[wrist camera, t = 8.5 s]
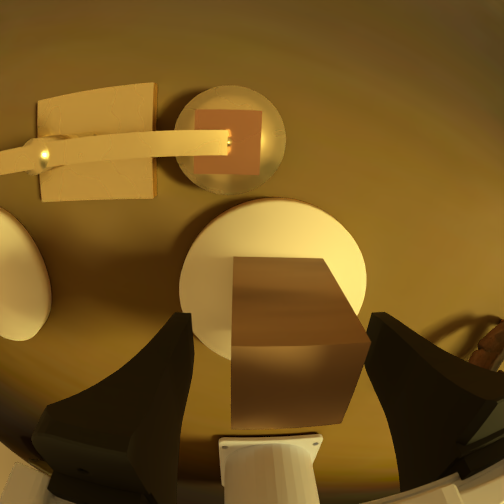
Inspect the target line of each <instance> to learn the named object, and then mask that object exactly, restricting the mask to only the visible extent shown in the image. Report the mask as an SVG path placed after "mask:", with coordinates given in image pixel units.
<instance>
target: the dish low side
mask: <svg viewBox="0 0 504 504" xmlns="http://www.w3.org/2000/svg"><path fill="white" fill-rule="evenodd" d="M233 256H236V257H282V258H323V259H324V261H325V262H326V264H327V266H328V267H329V269H330V271H331V272H332V274H333V276H334V277H335V279H336V281H337V283H338V284H339V286H340V288H341V289H342V291H343V293H344V295H345V296H346V298H347V300H348V301H349V303H350V305H351V307H352V308H353V310H354V312H355V314H356V315H358V313H359V311H360V308H361V306H362V303H363V300H364V296H365V290H366V270H365V264H364V260H363V257H362V254H361V252H360V250H359V247H358V245H357V244H356V242H355V241H354V239H353V238H352V236H351V235H350V234H349V233H348V231H347V230H346V229H345V228H344V227H343V226H342V225H341V224H340V223H339V222H338V221H337V220H336V219H335V218H333V217H332V216H331V215H330V214H328V213H327V212H325V211H324V210H322V209H320V208H319V207H317V206H314V205H312V204H309V203H307V202H304V201H300V200H296V199H290V198H282V197H273V198H262V199H255V200H251V201H248V202H244V203H241V204H239V205H236V206H234V207H232V208H230V209H228V210H226V211H225V212H223V213H221V214H220V215H218V216H217V217H216V218H214V219H213V220H212V221H211V222H210V223H208V224H207V225H206V226H205V228H204V229H203V230H202V231H201V232H200V233H199V234H198V236H197V237H196V239H195V240H194V242H193V243H192V245H191V247H190V249H189V251H188V254H187V256H186V259H185V262H184V265H183V268H182V271H181V276H180V282H179V297H180V304H181V308H182V311H183V313H191V316H192V330H193V333H194V334H195V335H196V336H197V337H198V338H199V340H200V341H201V342H202V343H203V344H205V345H206V346H207V347H208V348H209V349H211V350H212V351H214V352H215V353H217V354H219V355H220V356H222V357H224V358H226V359H229V360H231V326H232V286H233Z"/></svg>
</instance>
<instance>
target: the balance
mask: <svg viewBox="0 0 504 504" xmlns="http://www.w3.org/2000/svg"><path fill="white" fill-rule="evenodd" d="M157 95H158V84H156V83H154V82H153V83H141V84H131V85H123V86H115V87H108V88H101V89H94V90H88V91H83V92H77V93H72V94H67V95H62V96H57V97H53V98H48V99H44V100H40V101H38V117H37V132H38V138H34V139H30V140H28V141H27V142H26V143H25V144H24V146H23V147H18V148H13V149H9V150H4V151H0V175H3V174H9V173H14V172H20V171H25V172H26V173H28V174H29V175H37V174H39V176H40V187H41V197H42V202H53V201H74V200H101V199H153V198H154V197H156V196H157V163H156V157H166V156H175V157H176V160H177V162H178V164H179V166H180V168H181V170H182V171H183V173H184V174H185V175H186V176H187V177H188V178H189V179H190V180H191V181H192V182H193V183H194V184H196V185H197V186H199V187H200V188H202V189H204V190H207V191H209V192H212V193H216V194H223V195H235V194H241V193H245V192H248V191H251V190H253V189H255V188H257V187H259V186H260V185H262V184H263V183H265V182H266V181H267V180H268V179H269V178H270V177H271V176H272V175H273V174H274V172H275V171H276V170H277V168H278V167H279V165H280V163H281V161H282V158H283V155H284V152H285V146H286V133H285V127H284V124H283V121H282V118H281V116H280V114H279V112H278V111H277V109H276V108H275V107H274V105H273V104H272V103H271V102H270V101H269V100H268V99H267V98H266V97H264V96H263V95H261V94H260V93H258V92H256V91H254V90H252V89H249V88H246V87H241V86H234V85H226V86H219V87H214V88H211V89H208V90H206V91H204V92H202V93H200V94H199V95H197V96H196V97H194V98H193V99H192V100H191V101H190V102H189V103H188V104H187V105H186V106H185V107H184V109H183V110H182V112H181V113H180V115H179V117H178V119H177V122H176V124H175V128H174V130H169V131H157Z"/></svg>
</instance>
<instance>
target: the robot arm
mask: <svg viewBox="0 0 504 504" xmlns="http://www.w3.org/2000/svg"><path fill="white" fill-rule="evenodd" d="M366 333H367V335H368V337H369V339H370V341H371V344H370V347H369V350H368V353H367V356H366V359H365V362H364V365H365V368H366V371H367V374H368V376H369V378H370V381H371V383H372V385H373V387H374V390H375V392H376V394H377V396H378V399H379V401H380V403H381V405H382V408H383V410H384V413H385V415H386V418H387V421H388V425H389V428H390V432H391V436H392V440H393V444H394V449H395V453H396V459H397V465H398V471H399V480H400V491H401V493H399V494H396V495H392V496H389V497H385V498H381V499H377V500H373V501H369V502H365V503H361V504H504V374H502V373H498V372H494V371H491V370H488V369H485V368H482V367H479V366H476V365H474V364H471V363H469V362H466V361H464V360H462V359H460V358H458V357H456V356H454V355H452V354H450V353H448V352H446V351H444V350H442V349H441V348H439V347H437V346H436V345H434V344H432V343H431V342H429V341H428V340H426V339H425V338H423V337H422V336H420V335H419V334H417V333H416V332H414V331H413V330H411V329H410V328H408V327H407V326H406V325H404V324H403V323H401V322H400V321H398V320H397V319H395V318H394V317H392V316H391V315H389V314H387V313H385V312H376V313H372V314H371V318H370V321H369V325H368V328H367V332H366ZM193 364H194V343H193V330H192V316H191V313H179V312H176V313H174V314H173V315H172V317H171V318H170V319H169V320H168V321H167V323H166V324H165V325H164V326H163V327H162V329H161V330H160V331H159V332H158V333H157V334H156V335H155V336H154V338H153V339H152V340H151V341H150V342H149V343H148V344H147V345H146V346H145V347H144V348H143V349H142V350H141V351H140V352H139V353H138V354H137V355H136V356H135V357H133V358H132V359H131V360H130V361H129V362H128V363H126V364H125V365H124V366H123V367H121V368H120V369H119V370H117V371H116V372H115V373H113V374H112V375H110V376H108V377H107V378H105V379H104V380H102V381H101V382H99V383H97V384H96V385H94V386H92V387H90V388H88V389H86V390H84V391H82V392H80V393H78V394H76V395H74V396H71V397H69V398H66V399H64V400H61V401H58V402H56V403H53V404H50V405H47V407H46V408H45V410H44V412H43V414H42V415H41V417H40V420H39V422H38V424H37V426H36V428H35V430H34V432H33V435H32V437H31V440H32V443H33V446H34V447H35V449H36V450H37V452H38V453H39V454H40V455H41V457H42V458H43V459H44V460H45V461H46V462H47V464H48V465H49V466H50V467H51V468H52V469H53V473H52V476H51V478H50V477H49V476H47V475H46V474H44V473H42V472H40V471H38V470H35V469H33V468H30V467H28V466H25V465H23V464H21V463H19V462H15V464H14V466H13V468H12V471H11V473H10V475H9V478H8V481H7V483H6V485H5V488H4V491H3V493H2V496H1V499H0V504H177V475H178V458H179V444H180V433H181V426H182V420H183V415H184V411H185V406H186V402H187V397H188V393H189V388H190V384H191V379H192V374H193ZM322 440H323V437H322V435H321V434H311V435H299V436H283V437H248V438H240V437H223V438H220V439H219V457H220V469H221V481H222V485H223V486H225V504H320V503H319V497H318V492H317V487H316V482H315V477H314V471H313V466H312V464H313V462H314V459H315V457H316V455H317V452H318V450H319V448H320V445H321V443H322Z"/></svg>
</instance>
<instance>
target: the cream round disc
mask: <svg viewBox="0 0 504 504" xmlns="http://www.w3.org/2000/svg"><path fill="white" fill-rule="evenodd" d="M51 304H52V293H51V284H50V279H49V275H48V272H47V268H46V265H45V263H44V260H43V258H42V255H41V253H40V251H39V249H38V247H37V245H36V244H35V242H34V240H33V239H32V237H31V236H30V234H29V233H28V231H27V230H26V229H25V227H24V226H23V225H22V224H21V223H20V222H19V221H18V220H17V219H16V218H15V217H14V216H13V215H12V214H11V213H9V212H8V211H6V210H5V209H3V208H1V207H0V336H2V337H4V338H7V339H10V340H15V341H23V340H28V339H30V338H32V337H33V336H34V335H36V333H37V332H38V331H39V330H40V328H41V327H42V326H43V324H44V323H45V322H46V320H47V318H48V316H49V313H50V310H51Z"/></svg>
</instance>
